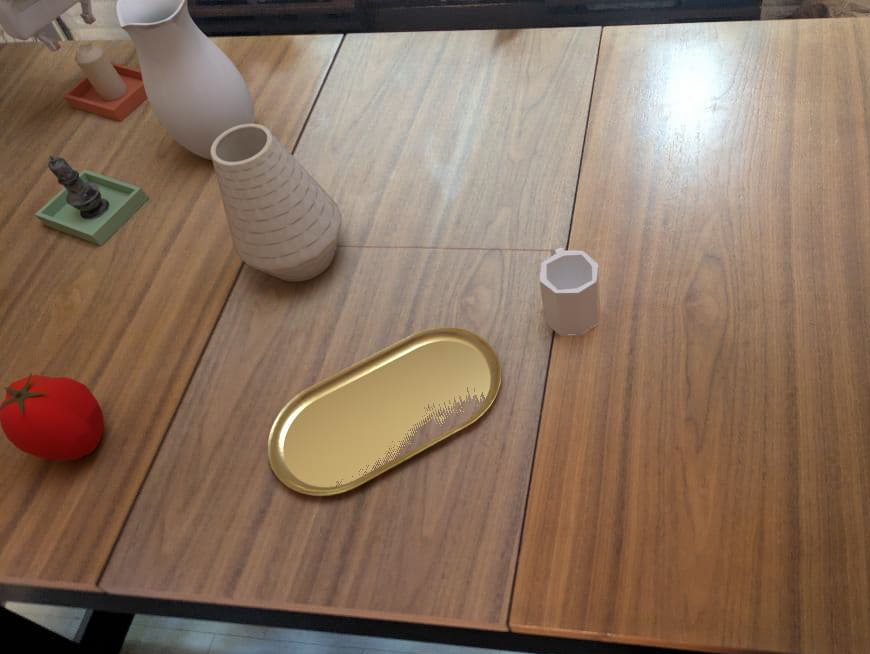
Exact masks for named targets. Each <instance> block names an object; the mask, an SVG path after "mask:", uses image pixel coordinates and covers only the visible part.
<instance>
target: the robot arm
mask: <svg viewBox="0 0 870 654" xmlns="http://www.w3.org/2000/svg"><path fill="white" fill-rule="evenodd" d="M78 3H80V7H81V11H82V12H81V13H80V14H79V16H80V18H81V19H83V22H84V23H85V24H86V25H90V26H91V25H92V24H93V23H95V22H96V21H97V19H96V17H95V15H94V14H93V10H92V1H91V0H0V27H1V28H2V30H3V31H4V32H5V34H6V35H8V36H9V37H11V38H14V39H17V40H20V41H28V40H29V39H31V38H32V37H33V38H35V39H36V40H39V41H40V42H42V43H44V44H45V46H46V47H47V49H48V50H49V51H50V52H53V53H54V52H55V53H56V52H57V51H59V50H60V49H62V46H61V45H60V43H59V42H58V40H57V39H56V38H52V37H46V36H45V35H46V32H45V31H44V28H45V27H47V26H48V25H49V24H52V22H54V21H55V20H56V19H58V18H59V17H60V16H61V15H63V14H64V13H66V12H67V11H69V10H70V9H71V8H72V7H74V6H75V5H77V4H78Z"/></svg>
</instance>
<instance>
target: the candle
mask: <svg viewBox="0 0 870 654" xmlns="http://www.w3.org/2000/svg"><path fill="white" fill-rule="evenodd" d="M74 61H75V62H76V64H77V65H78V67H79V68H80V70H81V71H82V72H83V74H84V76H85V77H87V78H88V79H89V81H90V82H91V84H92V85H93V87H94V88H95V89H96V91H97V92H98V94H99V95H100V96H101V98H102V99H103V100H105V101H113V100H117V99H119V98H121V97H122V96H124V95H125V93H126V92H127V87H126V85H125V84H124V82H123V80H122V79H121V77H120V76H119V74H118V73H117V71H116V70H115V68H114V67H113V65H112V64H111V62H112V61H111V60H110V59H109V58H108V56H107V54H106V53H105V52H104V50H103V49H102V48H101V46H100V47H99V46H97V45H94V44H91V43H87V44H80V45H79V46H78V49H77V50H76V53H75V56H74Z"/></svg>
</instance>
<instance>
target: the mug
mask: <svg viewBox="0 0 870 654" xmlns="http://www.w3.org/2000/svg"><path fill="white" fill-rule="evenodd" d="M599 271H600V270H599V264H598V263H597V261H596V260H594V259H593V258H592V257H591V256H590V255H588V253H586V252H585V251H584V250H565V247H558V248H556V249H552V250H550V257H548V258H546V259H545V260H544V261H542V262H541V267H540V275H539V287H540V294H541V300H542V301H541V302H542V308H543V316H544V323H545V325H546V326H548V327H549V328H550V329H552V331H554V332H555V333H557V334H558V335H559V336H560V337H563V336H566V337H571V336H573V337H576V336H578V337H579V336H581V337H582V336H583V335H585V334H587V333H588V332H590V331H591V330H593V329H594V328H596V327H598V326H599V319H600V310H601V307H600V306H601V303H600V302H601V301H600V276H599V274H600V272H599ZM599 308H600V310H599ZM598 318H599V319H598ZM597 323H598V324H597ZM596 324H597V325H596ZM594 325H596V326H594ZM593 326H594V327H593ZM591 327H592V328H591ZM590 328H591V329H590ZM588 329H589V330H588ZM587 330H588V331H587ZM584 332H585V333H584ZM582 333H583V334H582ZM568 334H576V335H568Z"/></svg>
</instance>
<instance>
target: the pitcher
mask: <svg viewBox="0 0 870 654" xmlns="http://www.w3.org/2000/svg"><path fill="white" fill-rule="evenodd" d="M115 12H116V16H117V20H118V23H119V26H120V28H121V29H122V30H124V31H125V32H126V33H127V34H128V36H129V38H130V39H131V41H132V43H133V46H134V48H135V52H136V54H137V59H138V63H139V69H140V70H141V74H142V79H143V84H144V88H145V91H146V95H147V98H146V99H147V100H148V104H149V105H150V108H151V109H152V112H153V114H154V116H155V117H156V120H158V122H159V123H160V125H161V126H162V127H163V129H164V130H165V131H166V133H167V134H168V135H169V136H170V137H171V138H172V139H173V140H174V141H175V142H177V144H179V145H180V146H181V147H184V148H185V149H186V150H188V151H189V152H190V153H192V154H194V155H196V156H198V157H201V158H203V159H206V160H210V161H212V157H211V146H212V144H213V142H214V141H215V140H216V138H217V137H218V136H219V135H221V134H222V133H223V132H225V131H226V130H228V129H230V128H233V127H235V126H238V125H243V124H256V112H255V106H254V102H253V98H252V95H251V91H250V89H249V87H248V85H247V83H246V81H245V79H244V78H243V76H242V74H241V72H240V71H239V70H238V68H237V67H236V65H235V63H233V62H232V60H231V59H230V58H229V57H228V56H227V54H226V53H224V52H223V50H222V49H220V47H218V46H217V45H216V44H215V43H214V42H213V41H212V40H211V39H210V38H209V37H208V36H207V35H206V34H205V33H204V32H203V31H201V29H200V28H199V27H198V26H197V25H196V23H195V22H194V20H193V19H192V17H191V15H190V12H189V8H188V0H117V2H116V5H115Z"/></svg>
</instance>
